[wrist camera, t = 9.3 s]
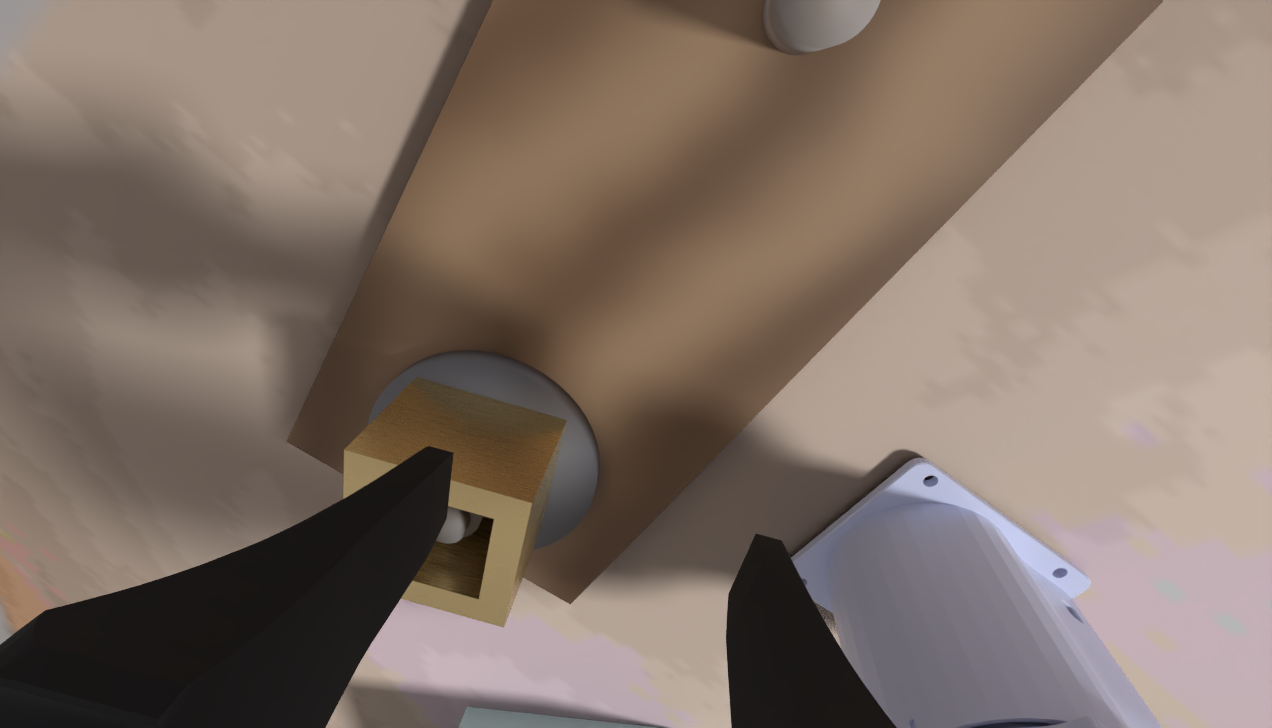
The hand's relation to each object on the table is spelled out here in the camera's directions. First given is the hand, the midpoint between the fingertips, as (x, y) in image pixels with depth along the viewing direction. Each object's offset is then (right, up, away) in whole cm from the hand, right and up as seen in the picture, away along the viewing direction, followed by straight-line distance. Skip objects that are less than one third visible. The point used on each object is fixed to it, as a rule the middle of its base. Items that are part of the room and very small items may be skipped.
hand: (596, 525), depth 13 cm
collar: (-5, 0, +8) cm, 10 cm away
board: (0, +7, +6) cm, 9 cm away
